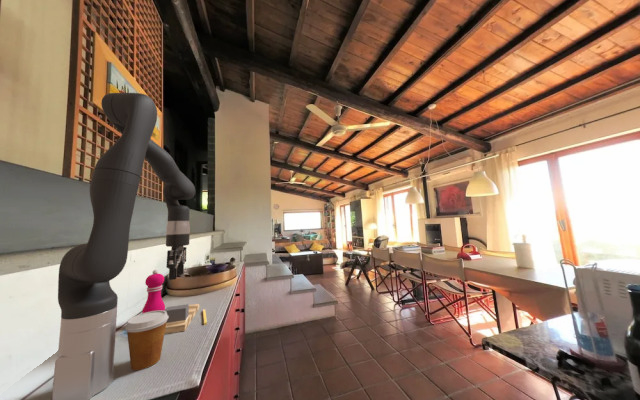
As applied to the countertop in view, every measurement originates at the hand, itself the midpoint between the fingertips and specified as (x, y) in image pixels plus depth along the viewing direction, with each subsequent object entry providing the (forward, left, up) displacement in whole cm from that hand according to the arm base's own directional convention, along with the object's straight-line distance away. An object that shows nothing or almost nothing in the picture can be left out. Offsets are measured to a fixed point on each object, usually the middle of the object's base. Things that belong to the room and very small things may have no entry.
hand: (176, 276), depth 82 cm
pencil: (+5, -9, -18) cm, 21 cm away
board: (+7, 0, -18) cm, 19 cm away
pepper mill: (+9, +10, -18) cm, 23 cm away
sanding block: (0, 0, -16) cm, 16 cm away
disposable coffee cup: (-21, +1, -18) cm, 28 cm away
